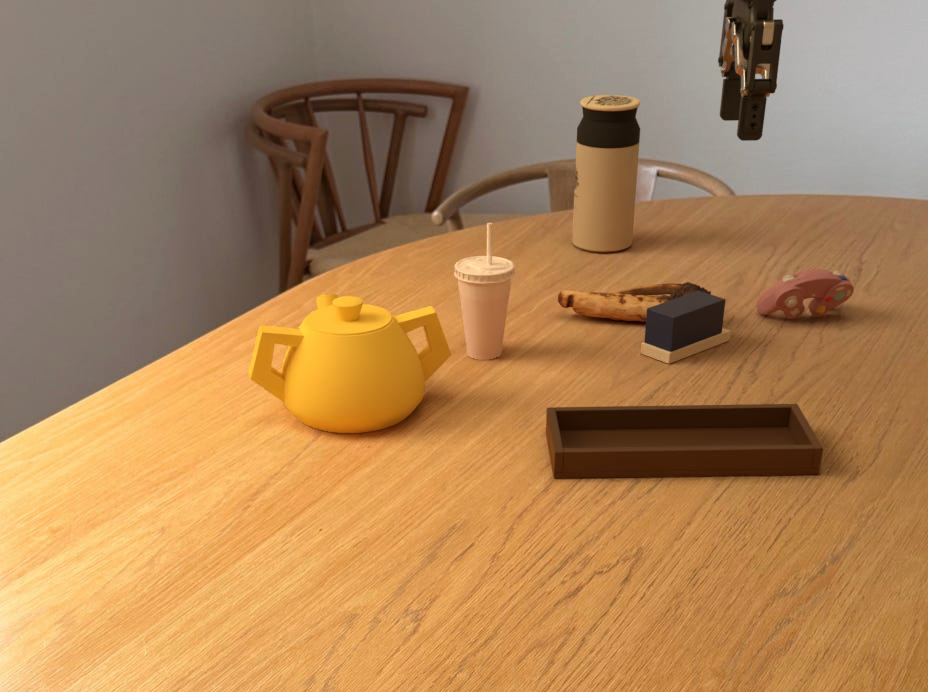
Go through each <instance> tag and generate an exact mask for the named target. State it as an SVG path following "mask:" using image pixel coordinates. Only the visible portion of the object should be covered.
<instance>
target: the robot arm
mask: <svg viewBox="0 0 928 692" xmlns="http://www.w3.org/2000/svg"><path fill="white" fill-rule="evenodd" d="M776 2H777V0H725V3H724V5H723V11H724V12H723V21H722V28H721V39H720V45H719V46H720V47H719V54H718V55H719V56H718V58H717V63H718V67H719V68H720V74H721V77H722V78H723V79H722V88H721V98H720V107H719V117H720V118H721V120H723V121H728V122H729V121H730V122H731V121H737V130H736V136H737V139H739V140H740V141H741V142H742V141H744V142H745V141H746V142H748V141H750V142H752V141H759V140H761V139H762V137H763V131H764V122H765V115H766V109H767V108H766V107H767V101H768V100H767V98H769V97H770V95H771V94H775V93H776V90H777V87H778V84H777V81H778V72H779V64H780V57H781V56H780V55H781V46H782V38H783V37H782V36H783V31H784V26H785V25H784V20H783V18H782V19H781V18H779V19H776V18H775V19H774V11H775V8H774V6H775V3H776ZM756 75H760V76H761V78H756Z"/></svg>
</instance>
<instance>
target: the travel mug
mask: <svg viewBox="0 0 928 692" xmlns="http://www.w3.org/2000/svg"><path fill="white" fill-rule="evenodd" d="M579 103H580V104H579V105H580V106H581V109H582V118H581V119H580V122H579V124H578V125H577V127H576V147H575V167H574V168H575V169H574V170H575V171H574V188H573V189H574V192H573V212H572V213H573V214H572V215H573V216H572V233H571V236H572V237H571V242H572V244H573V245H574V246H575V247H577V248H578V249H581V250H582V251H586V252H591V253H603V254H605V253H606V254H607V253H616V252H620V251H623V250H625V249H628V248H629V247H631V246H632V244H633V238H634V222H635V209H636V195H637V180H638V168H639V154H640V153H639V152H640V140H641V139H640V137H641V127H640V124H639V122H638V120H637V112H638V108H639V107H640V105H641V101H640V99H638V98H637V97H633V96H628V95H621V94H619V95H618V94H597V95H590V96H586V97H584V98H582V99H581V100H580V102H579Z"/></svg>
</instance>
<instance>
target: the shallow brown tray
mask: <svg viewBox="0 0 928 692" xmlns="http://www.w3.org/2000/svg"><path fill="white" fill-rule="evenodd" d="M545 415H546V416H545V419H546V421H545V435H546V440H547V447H548V453H549V458H550V464H551V471H552V476H553V479H603V478H604V479H606V478H607V479H609V478H611V479H613V478H614V479H615V478H674V477H675V478H676V477H677V478H678V477H682V478H685V477H687V478H688V477H744V476H745V477H746V476H747V477H750V476H812V475H813V476H814V475H815V476H818V475H820V471H821V469H820V468H821V464H822V458H823V452H824V447H823V445H822V444H821V442H820V440H819V439H818V437H817V435H816V433H815V431H814V430H813V428H812V426H811V425H810V423H809V420H807V418H806V416H805V415H804V413H803V410H802V409H801V407H800V406H799V404H798V403H763V404H762V403H760V404H759V403H756V404H755V403H754V404H749V403H748V404H747V403H746V404H687V405H686V404H681V405H618V406H617V405H615V406H614V405H613V406H612V405H610V406H608V405H607V406H556V407H554V406H553V407H546V414H545Z"/></svg>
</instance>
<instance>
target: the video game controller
mask: <svg viewBox="0 0 928 692" xmlns="http://www.w3.org/2000/svg"><path fill="white" fill-rule="evenodd" d="M854 291H855V287H854V285H853V283H852V281H851V280H850V279H849V277H847V276H846V275H845V274H843V272H842V270H841V269H835V270H834V271H833V272H832V271H829V270H827V269H822V268H808V269H805V270H803V271H800V272H798V273H795V274H790V273H789V274H785V275H784V276H783V277H782V278H780V279H778V280H776V281H775V282H774V283H773V284H772V285H771V286H770V287H769V288H768V289H767V290H765V291H764V292H762V293H761V294H760V295H759V297H758V299H757V303H756V310H757V312H758V313H759V315H762V316H769V315H771V314H773V313H775V312H777V311H782V312H783V314H784V316H785V318H786V319H787V320H790V321H792V320H796V319H798V318H800V317H802V315H803V314H804V313H805V311H806V307H805V305H804V300H809V299H811V300H810V302H809V303H808V305H807V309H808V310H809V313H810V314H811V316H812V317H814V318H820V317H823V316H825V315H826V314H827V313H829V311H831V310H832V309H835V308H837V307H839V306H840V305H842V304H844V303H845V302H847V301H848V300H849V299H850V298H851V297H852V296H853V294H854Z"/></svg>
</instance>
